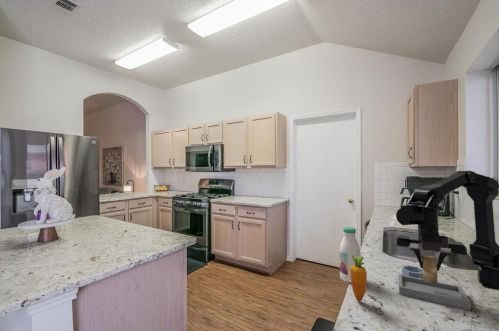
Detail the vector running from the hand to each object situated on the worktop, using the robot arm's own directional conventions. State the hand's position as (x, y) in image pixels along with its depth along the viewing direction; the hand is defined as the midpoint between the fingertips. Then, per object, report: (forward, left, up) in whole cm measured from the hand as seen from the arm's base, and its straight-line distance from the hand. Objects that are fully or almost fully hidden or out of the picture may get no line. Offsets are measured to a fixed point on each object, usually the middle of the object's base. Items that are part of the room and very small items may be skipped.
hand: (429, 269), depth 79 cm
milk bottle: (+25, +3, -9) cm, 27 cm away
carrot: (+20, +19, -8) cm, 29 cm away
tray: (0, 0, -8) cm, 8 cm away
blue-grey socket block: (+4, -13, -8) cm, 16 cm away
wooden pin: (0, 0, -4) cm, 4 cm away
